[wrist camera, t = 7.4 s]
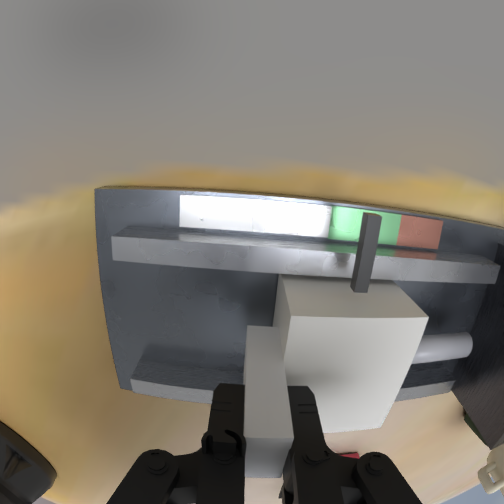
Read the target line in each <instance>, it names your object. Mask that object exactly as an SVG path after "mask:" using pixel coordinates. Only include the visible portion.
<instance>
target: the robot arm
mask: <svg viewBox="0 0 504 504" xmlns="http://www.w3.org/2000/svg"><path fill="white" fill-rule="evenodd" d="M201 443H202V448H200V449H199V450H198V451H196V452H194V453H191V454H186V455H178V456H173V455H172V454H170V453H169V452H167V451H164V450H160V449H154V450H148V451H146V452H143V453H142V454H141V455H140V456H139V457H138V458H137V460H136V461H135V463H134V464H133V466H132V467H131V469H130V470H129V472H128V473H127V475H126V476H125V477H124V479H123V480H122V482H121V483H120V485H119V486H118V488H117V489H116V491H115V492H114V493H113V495H112V496H111V498H110V499H109V501H108V502H107V504H193V503H196V504H244V487H245V477H255V478H281V476H282V473H283V480H284V483H283V486H282V488H281V491H280V493H279V498H282V504H422V503H421V501H420V500H419V498H418V497H417V496H416V494H415V493H414V491H413V490H412V489H411V487H410V486H409V484H408V483H407V482H406V480H405V479H404V477H403V476H402V474H401V473H400V472H399V470H398V469H397V467H396V466H395V464H394V463H393V462H392V460H391V459H390V458H389V457H388V456H387V455H385V454H382V453H380V452H370V453H366V454H364V455H363V456H361V457H360V459H358V458H352V457H345V456H341V455H338V454H336V453H334V452H333V451H331V449H329V448H328V446H327V445H326V443H325V439H324V435H323V430H322V426H321V421H320V417H319V414H318V408H317V406H316V399H315V395H314V393H313V392H312V391H311V390H310V388H309V387H308V386H287V381H286V374H285V367H284V361H283V354H282V346H281V339H280V332H279V327H268V326H251V325H247V337H246V349H245V361H244V378H243V385H241V384H227V383H219V385H218V386H217V387H216V389H215V390H214V391H213V397H212V404H211V411H210V418H209V424H208V431H207V432H206V433H205V434H204V435H203V437H202V440H201ZM56 477H57V475H56V472H55V470H54V469H53V468H52V466H51V465H50V464H49V463H48V462H47V461H46V460H45V458H44V457H43V456H41V455H40V454H39V453H38V452H37V451H36V450H35V449H34V448H33V447H32V446H31V445H29V444H28V443H27V442H26V441H25V440H23V439H22V438H21V437H20V436H19V435H17V434H16V433H15V432H13V431H12V430H11V429H9V428H8V427H7V426H5V425H4V424H2V423H1V422H0V504H32V503H33V502H35V501H36V500H37V499H38V498H39V497H40V496H42V495H43V494H44V493H45V492H46V491H47V490H48V489H50V488H51V487H52V486H53V484H54V481H55V479H56Z"/></svg>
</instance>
